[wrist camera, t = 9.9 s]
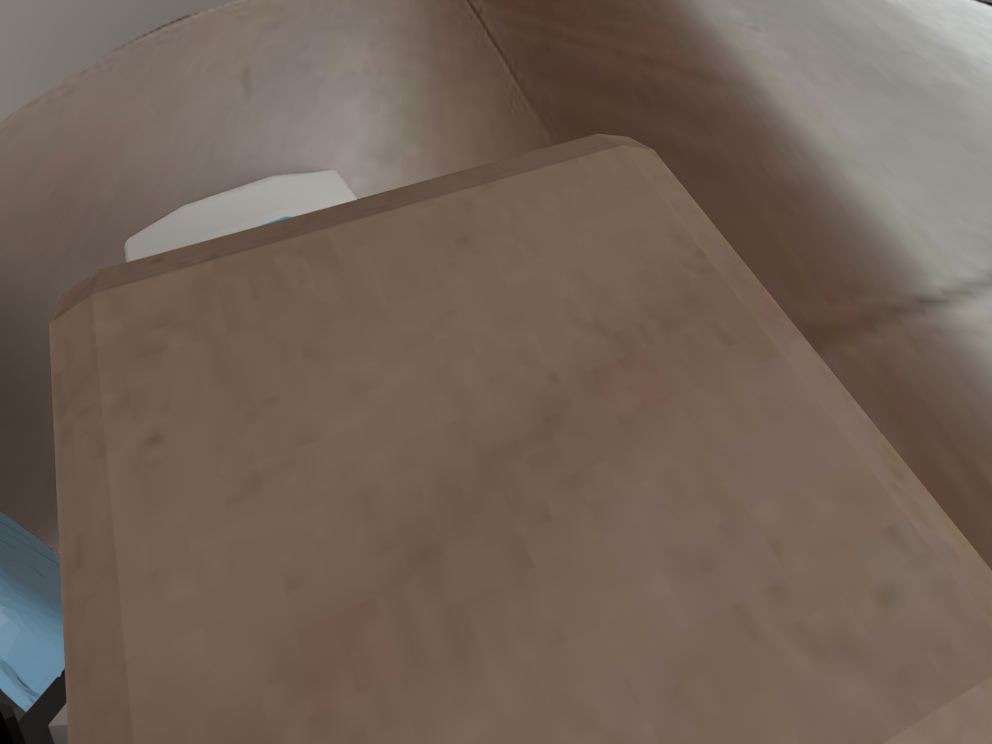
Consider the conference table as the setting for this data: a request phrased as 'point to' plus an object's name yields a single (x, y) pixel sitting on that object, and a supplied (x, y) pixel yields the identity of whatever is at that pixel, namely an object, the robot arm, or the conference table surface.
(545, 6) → the conference table surface
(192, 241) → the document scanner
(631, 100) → the conference table surface
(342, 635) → the block
